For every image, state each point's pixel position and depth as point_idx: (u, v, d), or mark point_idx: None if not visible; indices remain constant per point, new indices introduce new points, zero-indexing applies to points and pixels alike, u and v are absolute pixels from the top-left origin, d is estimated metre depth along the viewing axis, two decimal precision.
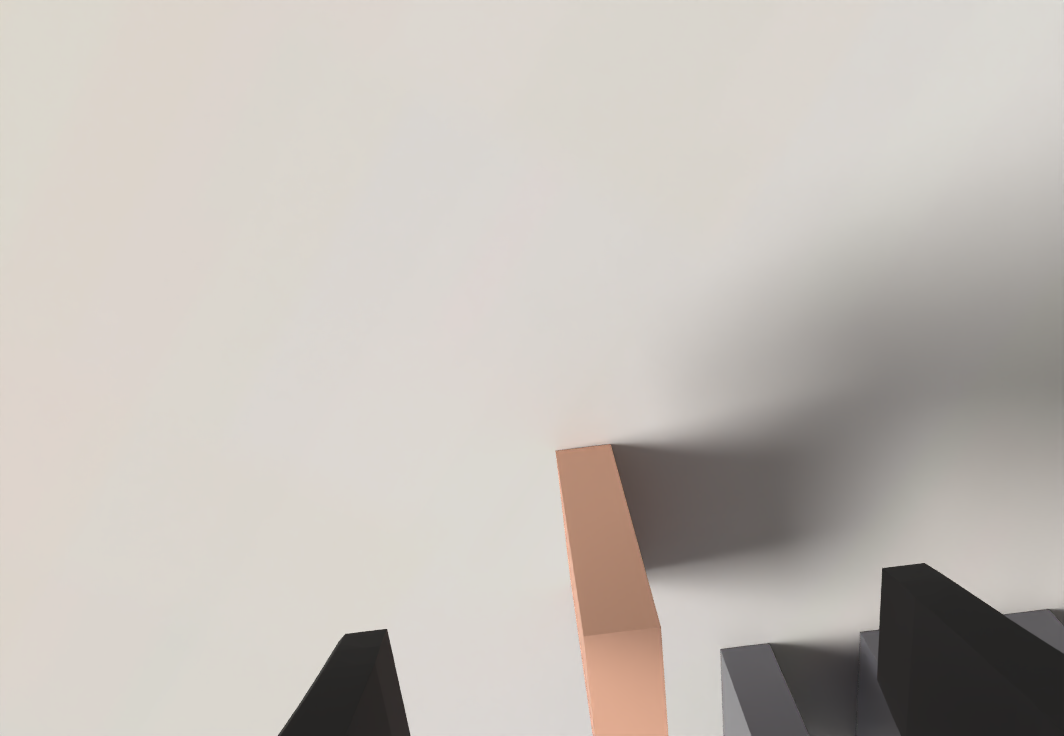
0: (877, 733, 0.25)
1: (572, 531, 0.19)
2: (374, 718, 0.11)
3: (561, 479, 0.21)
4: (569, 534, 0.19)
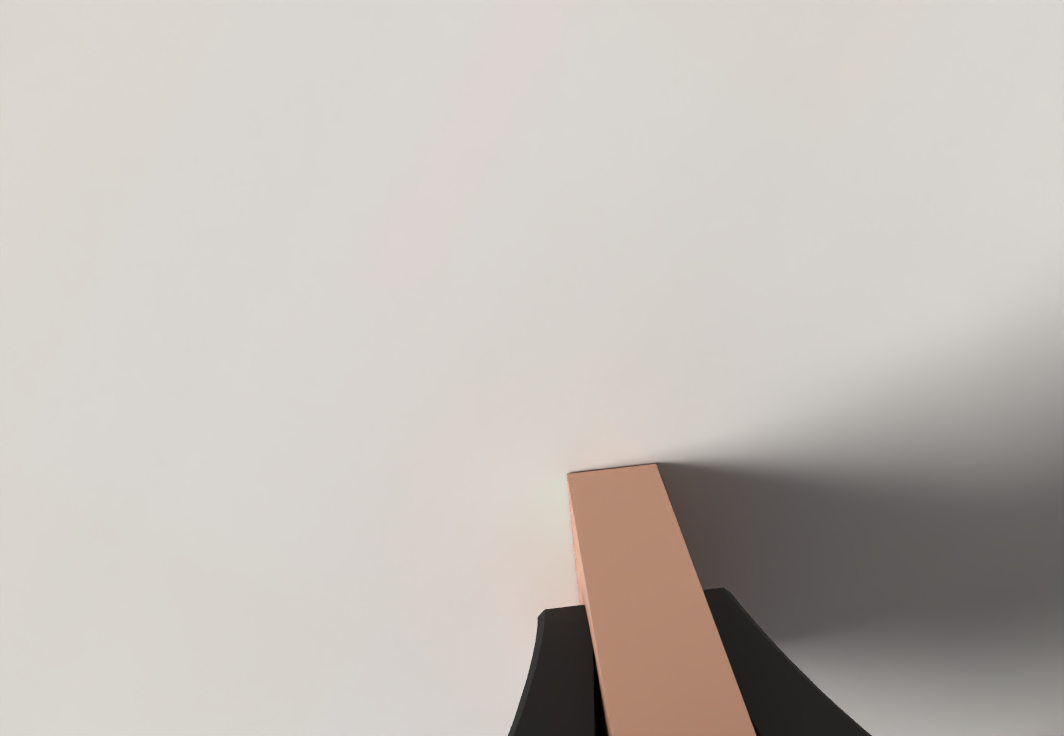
0: None
1: (600, 626, 0.10)
2: (596, 691, 0.11)
3: (577, 524, 0.12)
4: (596, 632, 0.10)
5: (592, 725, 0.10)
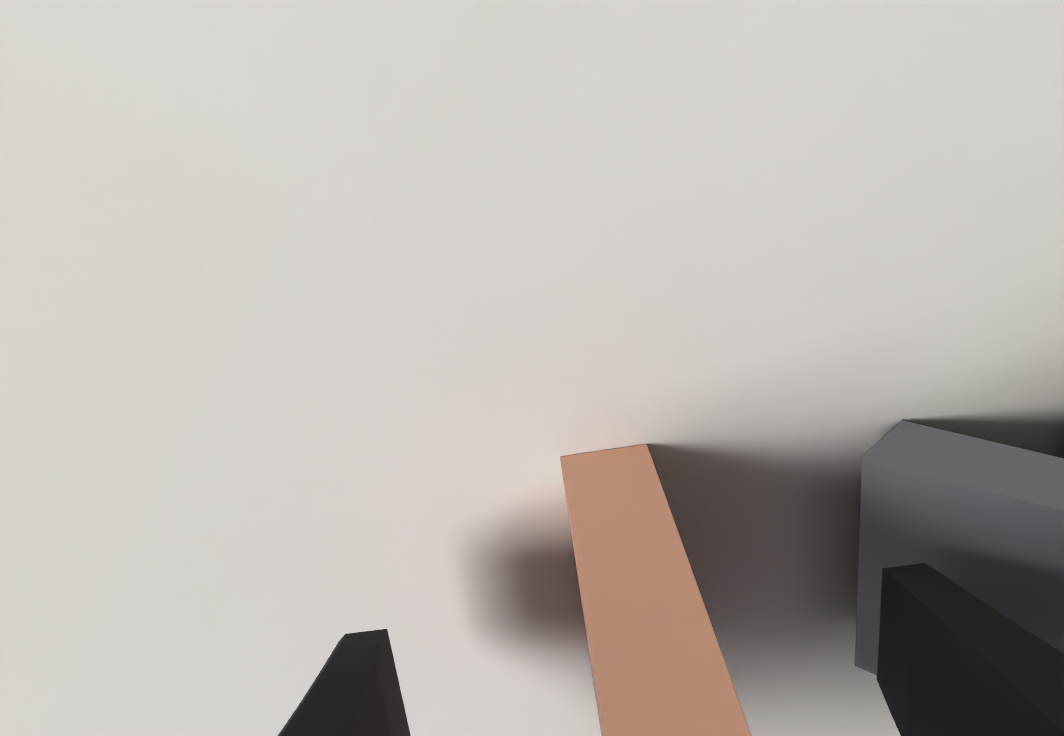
0: None
1: (590, 598, 0.11)
2: (374, 718, 0.11)
3: (569, 503, 0.13)
4: (585, 604, 0.11)
5: None
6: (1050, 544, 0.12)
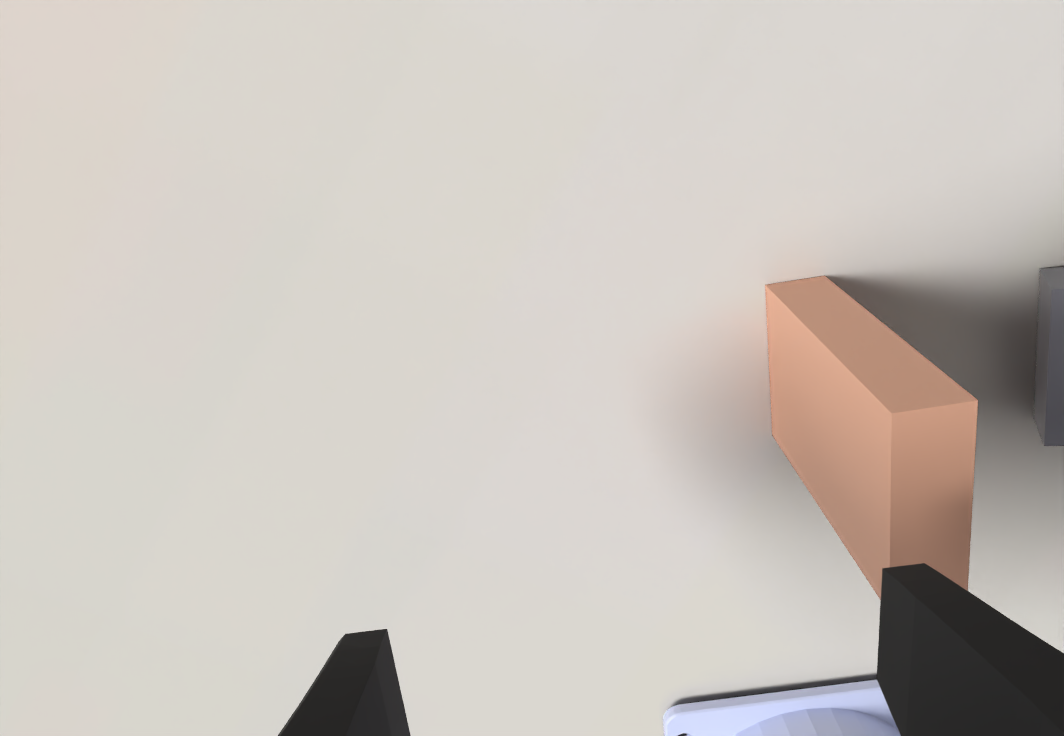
0: None
1: (824, 339, 0.17)
2: (374, 718, 0.11)
3: (785, 304, 0.19)
4: (822, 341, 0.17)
5: None
6: None
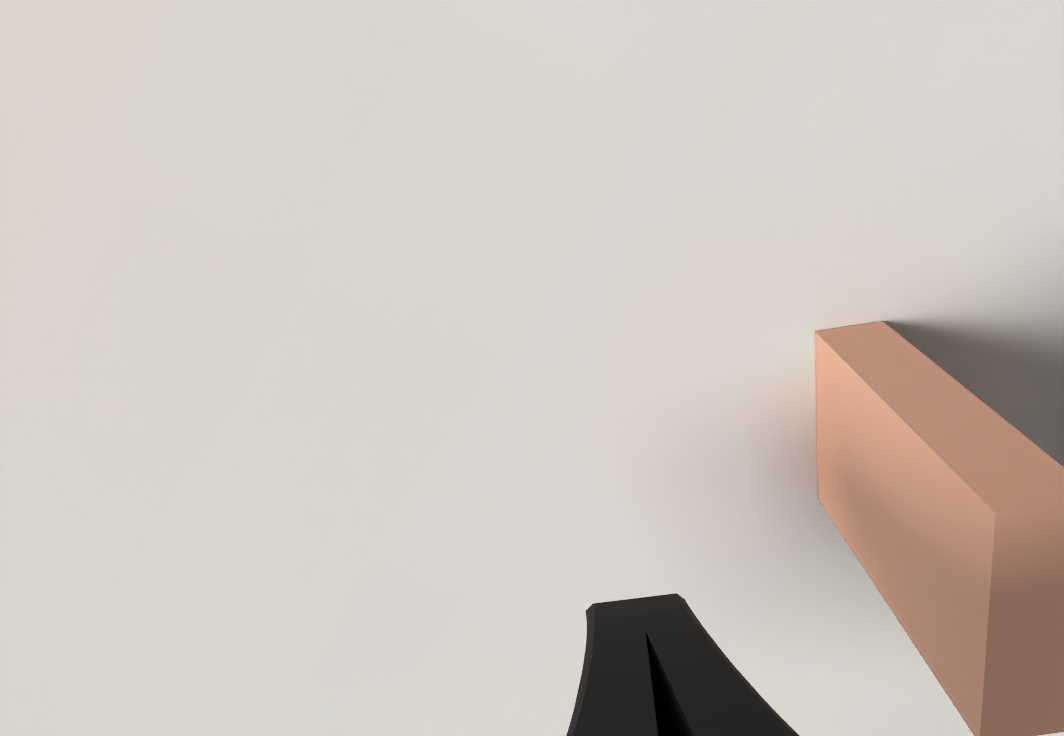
0: None
1: (894, 406, 0.15)
2: None
3: (842, 357, 0.17)
4: (893, 408, 0.15)
5: (654, 717, 0.10)
6: None
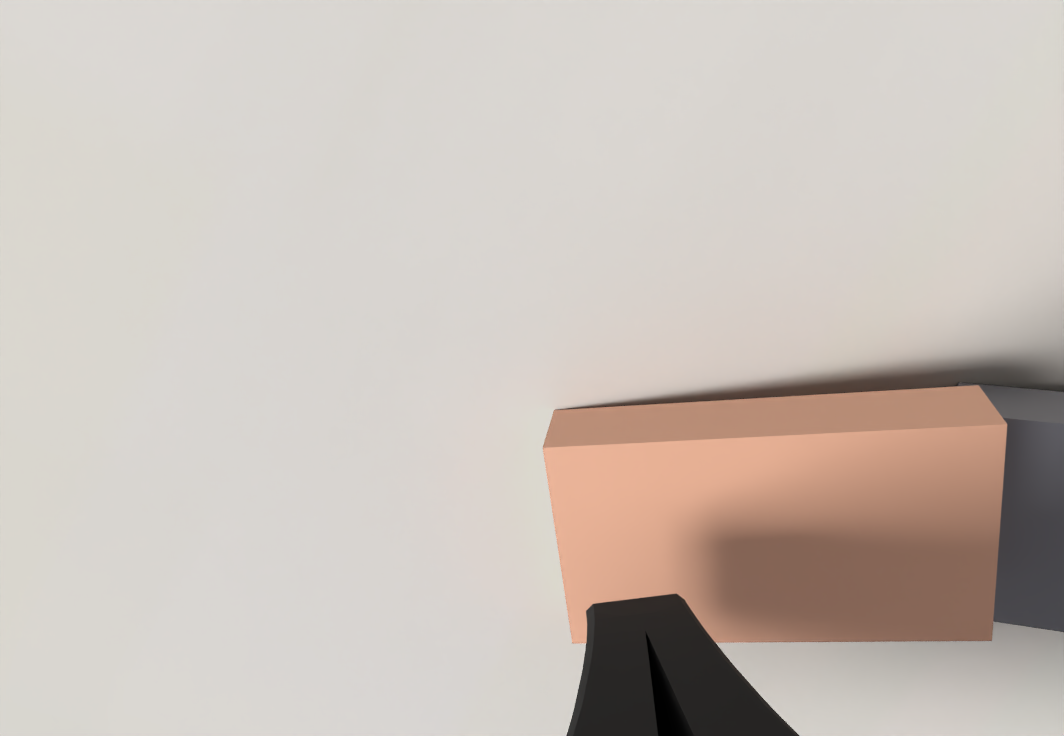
0: None
1: (773, 433, 0.14)
2: None
3: (630, 442, 0.14)
4: (780, 434, 0.14)
5: (654, 717, 0.10)
6: None
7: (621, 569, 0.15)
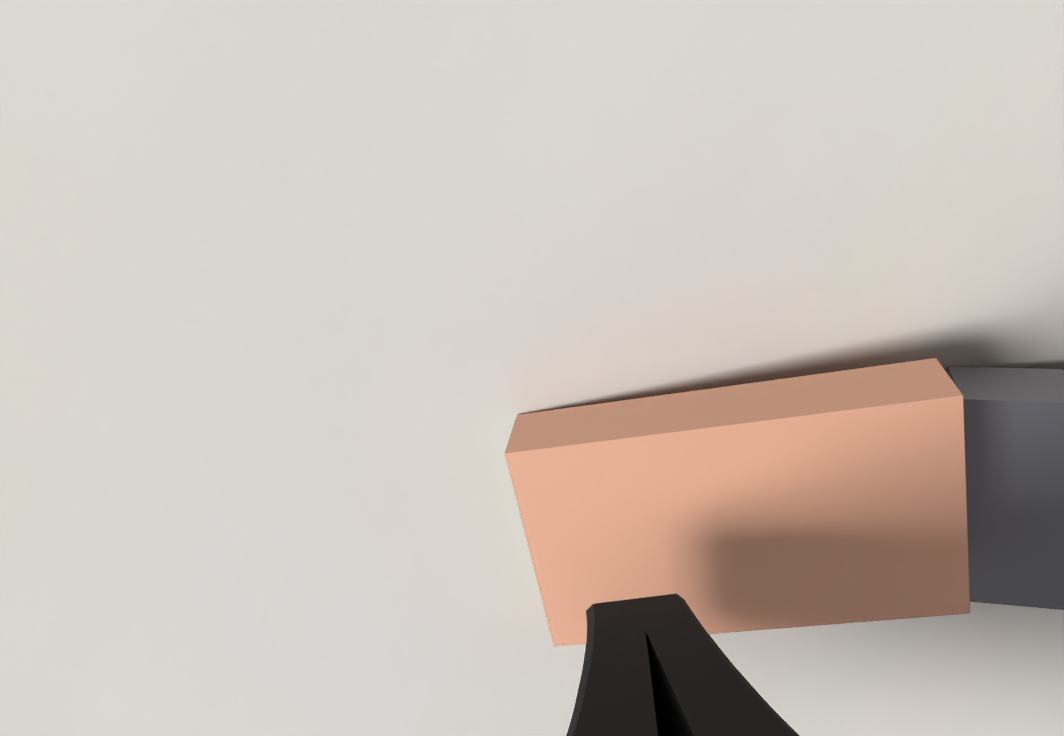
0: None
1: (732, 421, 0.14)
2: None
3: (590, 442, 0.14)
4: (738, 422, 0.14)
5: (654, 717, 0.10)
6: None
7: (594, 569, 0.15)
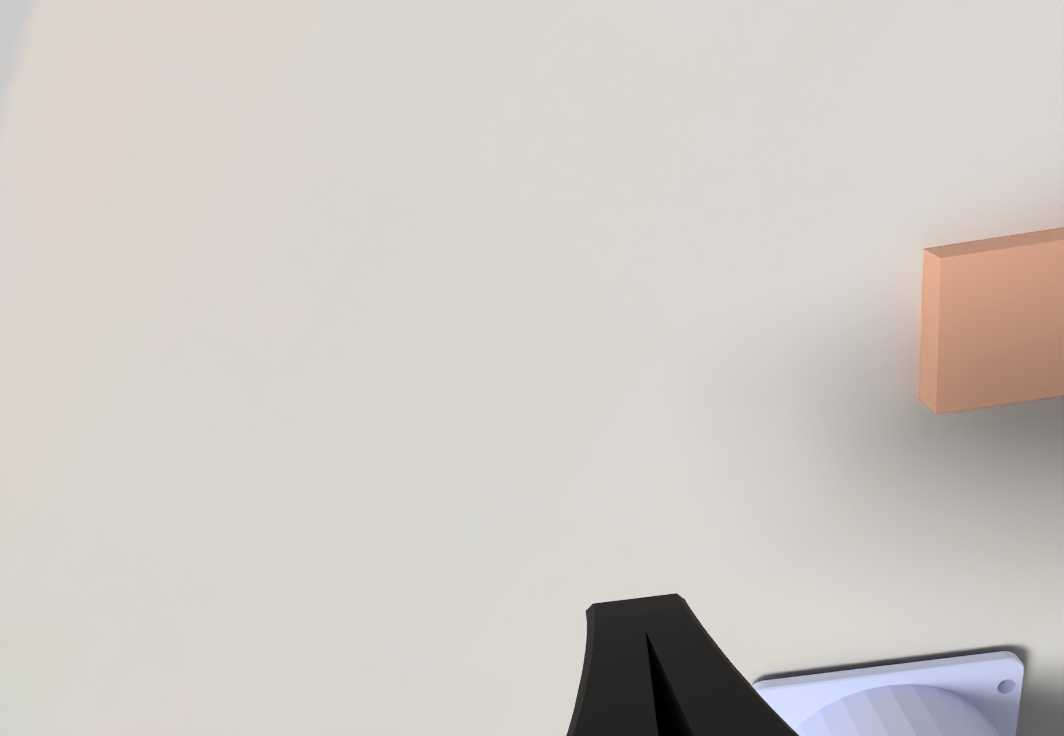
0: None
1: None
2: None
3: (1001, 248, 0.20)
4: None
5: (654, 717, 0.10)
6: None
7: (981, 349, 0.21)
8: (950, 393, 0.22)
